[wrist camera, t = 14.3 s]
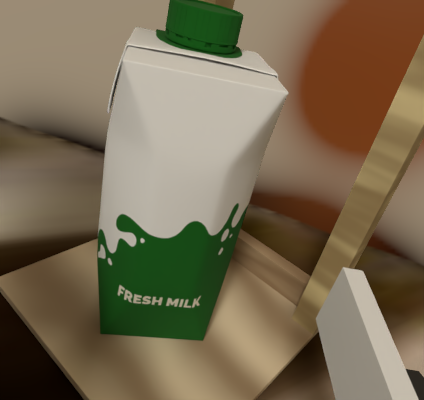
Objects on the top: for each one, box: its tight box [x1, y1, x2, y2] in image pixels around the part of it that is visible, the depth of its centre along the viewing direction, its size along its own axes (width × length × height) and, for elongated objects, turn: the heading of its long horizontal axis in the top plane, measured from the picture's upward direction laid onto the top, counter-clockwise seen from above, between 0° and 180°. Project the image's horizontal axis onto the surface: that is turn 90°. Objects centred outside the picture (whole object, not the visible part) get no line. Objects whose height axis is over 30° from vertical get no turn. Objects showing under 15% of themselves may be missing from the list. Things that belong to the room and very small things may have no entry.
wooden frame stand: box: [0, 0, 424, 400], centre depth 24 cm, size 18×18×26 cm
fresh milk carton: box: [97, 0, 288, 341], centre depth 24 cm, size 9×9×20 cm
